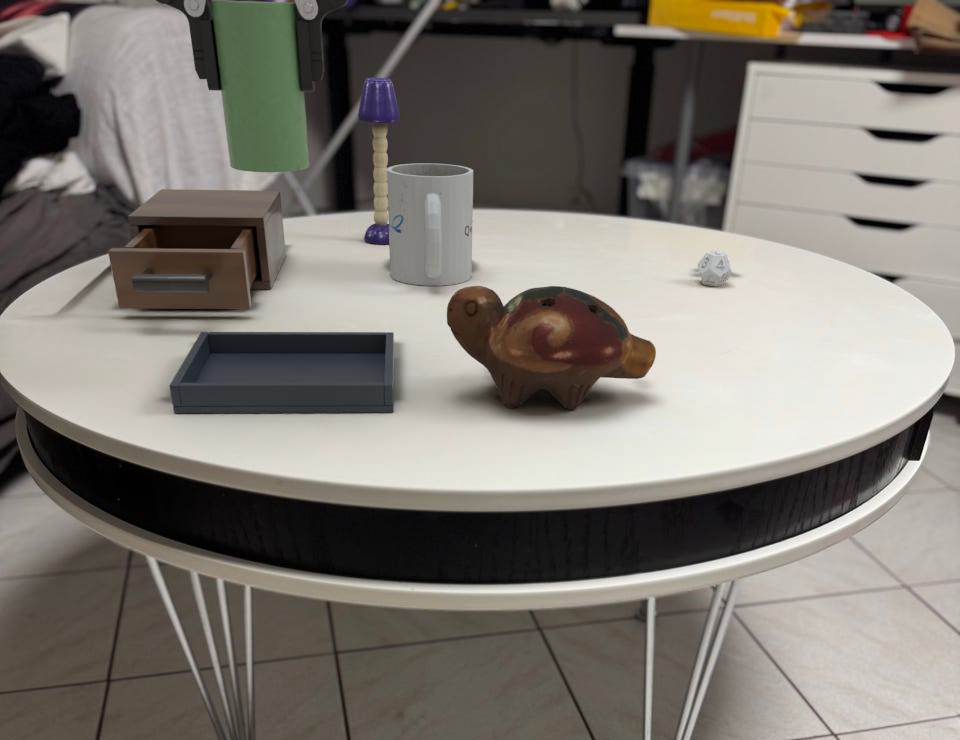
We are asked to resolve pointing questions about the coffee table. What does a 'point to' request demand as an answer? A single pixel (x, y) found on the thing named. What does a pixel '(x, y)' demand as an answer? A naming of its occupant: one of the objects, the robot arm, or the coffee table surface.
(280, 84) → the can
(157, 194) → the cabinet
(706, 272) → the game die
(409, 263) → the mug
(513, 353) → the decorative turtle
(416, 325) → the coffee table surface
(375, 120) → the toy lamp
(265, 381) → the tray
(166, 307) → the drawer
